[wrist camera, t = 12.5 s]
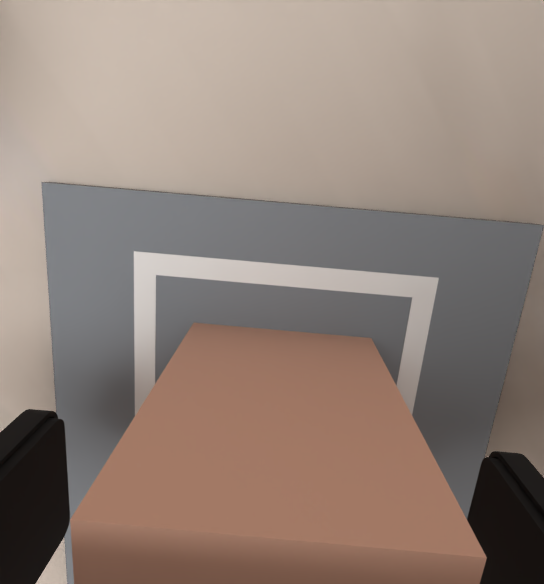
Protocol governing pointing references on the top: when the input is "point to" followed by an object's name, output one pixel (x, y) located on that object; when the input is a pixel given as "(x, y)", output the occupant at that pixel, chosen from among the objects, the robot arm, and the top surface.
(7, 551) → the robot arm
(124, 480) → the block
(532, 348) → the top surface
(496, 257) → the mat
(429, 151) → the top surface
